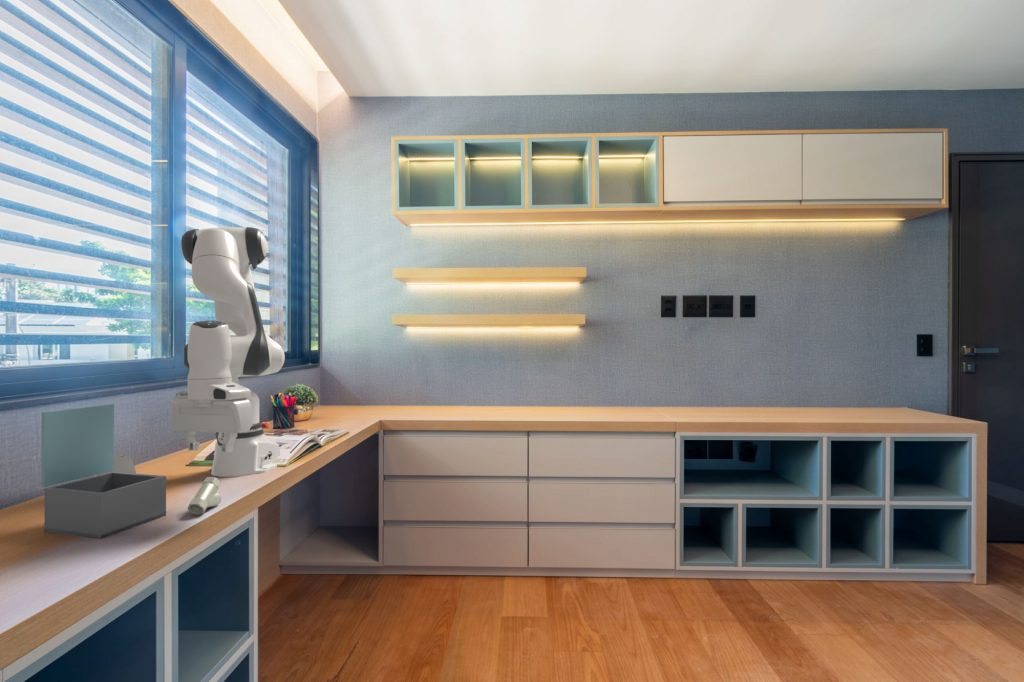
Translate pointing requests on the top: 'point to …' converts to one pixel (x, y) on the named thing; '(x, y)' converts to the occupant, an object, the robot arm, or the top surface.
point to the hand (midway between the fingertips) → (210, 451)
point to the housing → (104, 504)
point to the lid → (77, 443)
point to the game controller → (120, 465)
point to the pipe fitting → (206, 496)
